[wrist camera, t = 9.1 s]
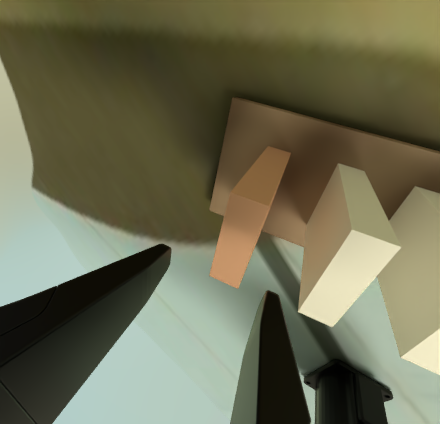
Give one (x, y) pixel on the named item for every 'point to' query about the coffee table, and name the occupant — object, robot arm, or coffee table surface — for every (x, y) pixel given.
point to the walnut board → (315, 163)
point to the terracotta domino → (247, 215)
